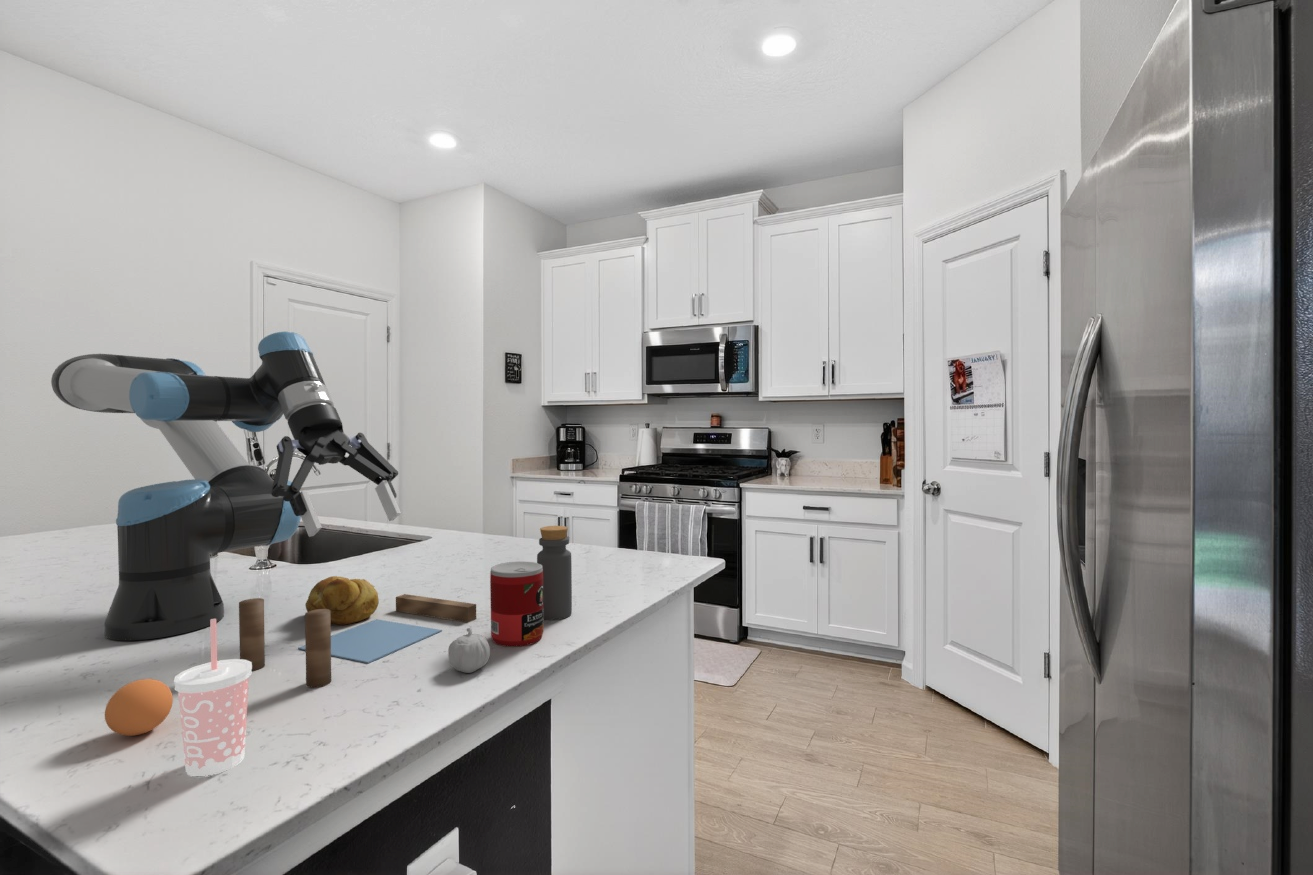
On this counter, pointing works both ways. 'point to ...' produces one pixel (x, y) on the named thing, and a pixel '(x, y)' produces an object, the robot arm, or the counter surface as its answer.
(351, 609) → the bread roll
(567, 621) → the counter surface
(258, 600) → the left post
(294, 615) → the counter surface
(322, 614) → the right post
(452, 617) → the bar
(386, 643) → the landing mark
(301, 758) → the counter surface
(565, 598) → the bottle
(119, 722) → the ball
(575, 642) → the counter surface
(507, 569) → the canned food
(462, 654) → the garlic
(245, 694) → the beverage cup
